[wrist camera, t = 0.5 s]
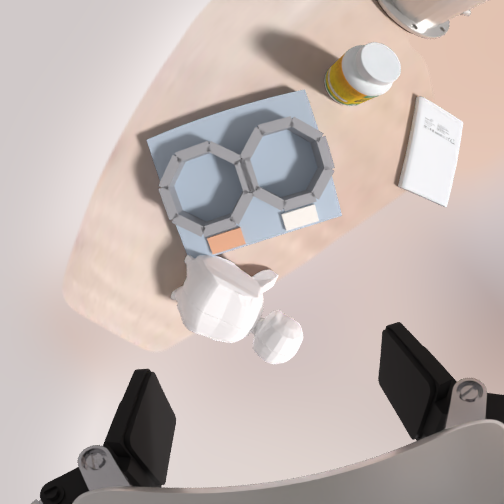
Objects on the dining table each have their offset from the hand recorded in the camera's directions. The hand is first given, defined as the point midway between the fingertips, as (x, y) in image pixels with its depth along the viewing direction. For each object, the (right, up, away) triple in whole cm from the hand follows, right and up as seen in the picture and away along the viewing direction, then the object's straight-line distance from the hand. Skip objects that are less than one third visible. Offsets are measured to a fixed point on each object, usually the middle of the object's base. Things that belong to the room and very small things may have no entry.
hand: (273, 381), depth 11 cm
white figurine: (-2, 0, +24) cm, 24 cm away
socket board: (-2, +13, +20) cm, 24 cm away
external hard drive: (+22, +18, +21) cm, 35 cm away
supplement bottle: (+10, +24, +18) cm, 31 cm away
